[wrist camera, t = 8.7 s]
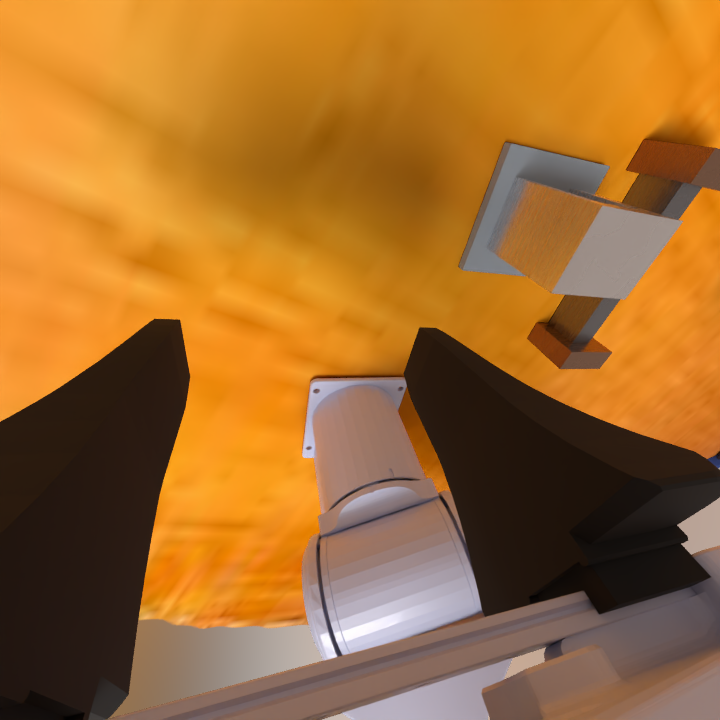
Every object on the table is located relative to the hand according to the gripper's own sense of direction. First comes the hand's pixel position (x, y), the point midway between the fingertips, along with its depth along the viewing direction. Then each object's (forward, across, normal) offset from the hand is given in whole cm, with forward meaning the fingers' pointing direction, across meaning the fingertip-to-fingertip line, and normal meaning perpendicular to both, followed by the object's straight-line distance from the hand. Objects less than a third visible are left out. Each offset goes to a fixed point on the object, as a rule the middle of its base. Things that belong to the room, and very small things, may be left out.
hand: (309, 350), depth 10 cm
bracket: (+10, -15, -3) cm, 18 cm away
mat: (+10, -15, -3) cm, 18 cm away
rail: (+10, -22, -1) cm, 24 cm away
